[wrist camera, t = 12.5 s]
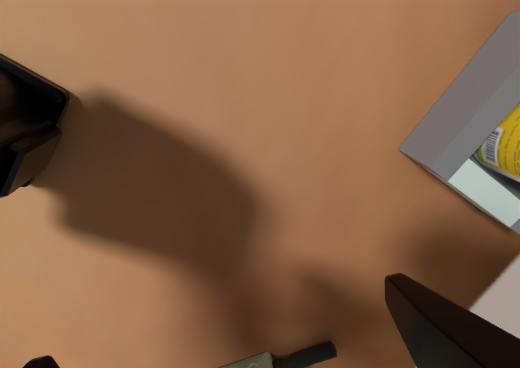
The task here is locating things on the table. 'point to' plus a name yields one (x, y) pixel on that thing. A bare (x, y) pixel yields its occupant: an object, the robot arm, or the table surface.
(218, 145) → the table surface
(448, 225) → the table surface
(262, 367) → the handheld radio
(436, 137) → the dock
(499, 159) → the supplement bottle
